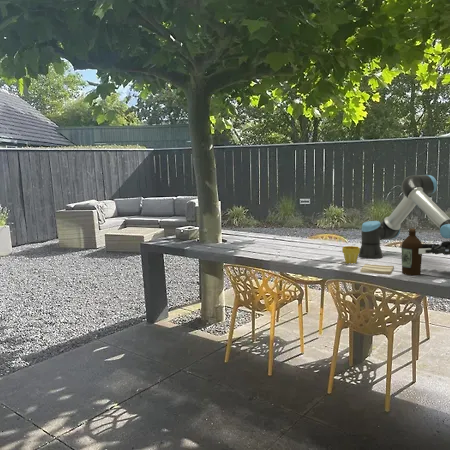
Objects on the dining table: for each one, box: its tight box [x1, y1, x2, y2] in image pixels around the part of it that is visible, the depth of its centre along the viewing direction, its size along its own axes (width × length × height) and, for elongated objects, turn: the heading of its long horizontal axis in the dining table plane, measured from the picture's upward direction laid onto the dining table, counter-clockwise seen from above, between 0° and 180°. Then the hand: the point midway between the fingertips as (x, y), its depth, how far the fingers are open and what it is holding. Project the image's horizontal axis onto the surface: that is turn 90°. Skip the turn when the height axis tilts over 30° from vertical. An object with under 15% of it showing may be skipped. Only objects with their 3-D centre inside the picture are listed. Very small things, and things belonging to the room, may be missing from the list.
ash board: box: [360, 263, 395, 276], centre depth 246 cm, size 16×16×2 cm
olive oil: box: [400, 228, 423, 277], centre depth 234 cm, size 11×11×25 cm
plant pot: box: [341, 245, 361, 264], centre depth 268 cm, size 10×10×10 cm
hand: (412, 249), depth 234 cm, fingers open, 13 cm apart
